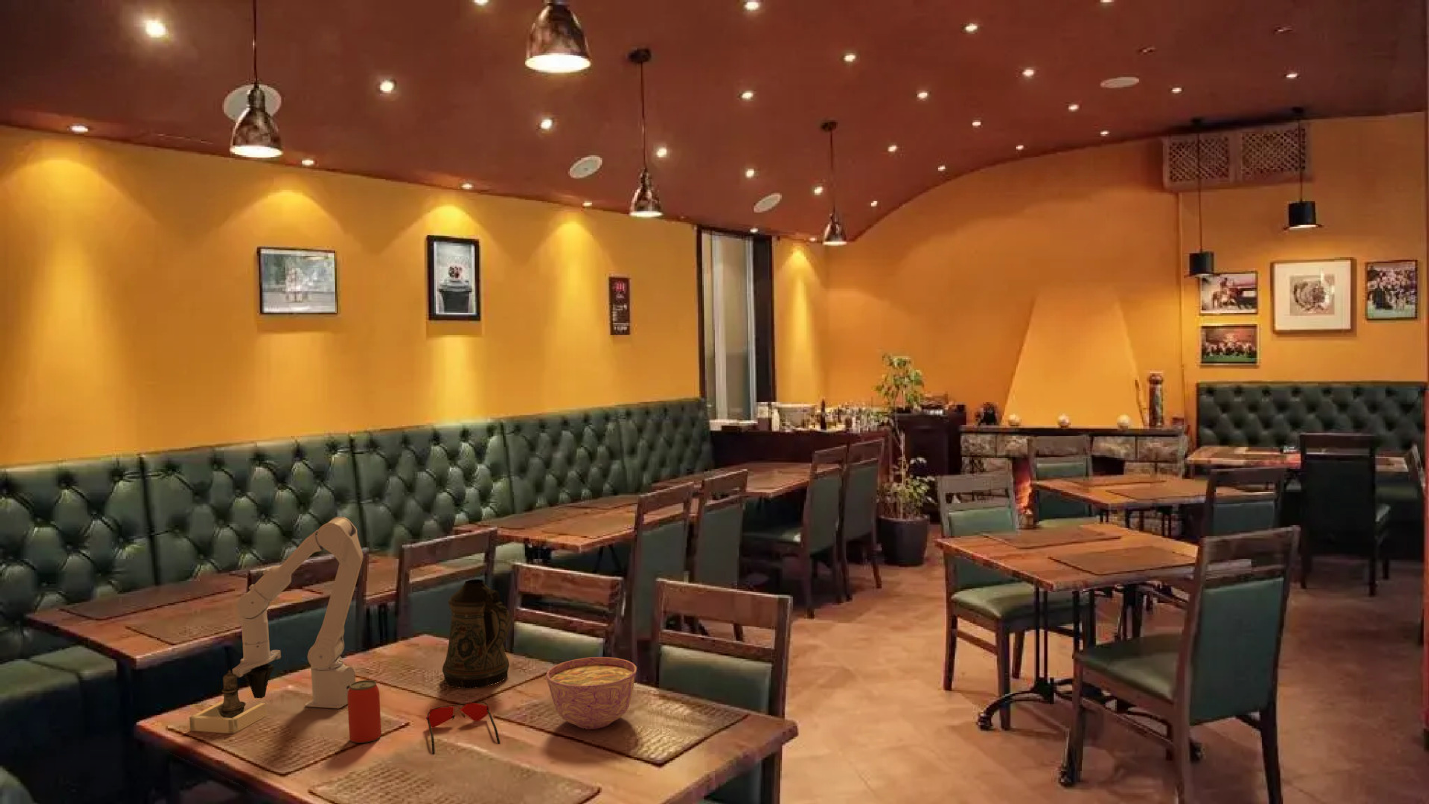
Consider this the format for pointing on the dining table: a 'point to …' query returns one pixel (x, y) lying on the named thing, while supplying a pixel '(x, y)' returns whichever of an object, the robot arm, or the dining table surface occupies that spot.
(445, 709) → the glasses
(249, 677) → the robot arm
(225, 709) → the dark bronze turned piece
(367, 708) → the beer can
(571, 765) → the dining table surface
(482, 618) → the beer stein
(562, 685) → the bowl of food
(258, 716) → the holder
